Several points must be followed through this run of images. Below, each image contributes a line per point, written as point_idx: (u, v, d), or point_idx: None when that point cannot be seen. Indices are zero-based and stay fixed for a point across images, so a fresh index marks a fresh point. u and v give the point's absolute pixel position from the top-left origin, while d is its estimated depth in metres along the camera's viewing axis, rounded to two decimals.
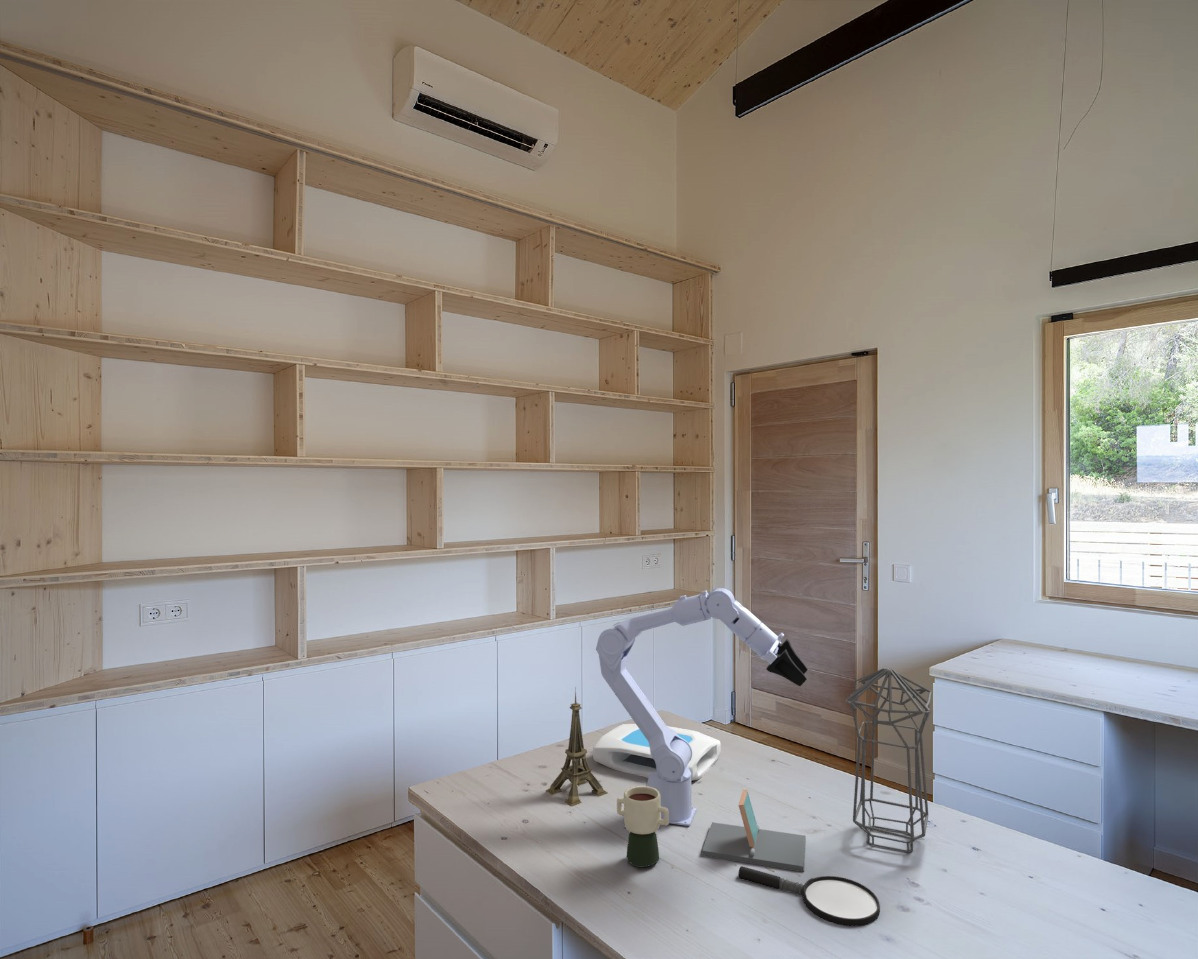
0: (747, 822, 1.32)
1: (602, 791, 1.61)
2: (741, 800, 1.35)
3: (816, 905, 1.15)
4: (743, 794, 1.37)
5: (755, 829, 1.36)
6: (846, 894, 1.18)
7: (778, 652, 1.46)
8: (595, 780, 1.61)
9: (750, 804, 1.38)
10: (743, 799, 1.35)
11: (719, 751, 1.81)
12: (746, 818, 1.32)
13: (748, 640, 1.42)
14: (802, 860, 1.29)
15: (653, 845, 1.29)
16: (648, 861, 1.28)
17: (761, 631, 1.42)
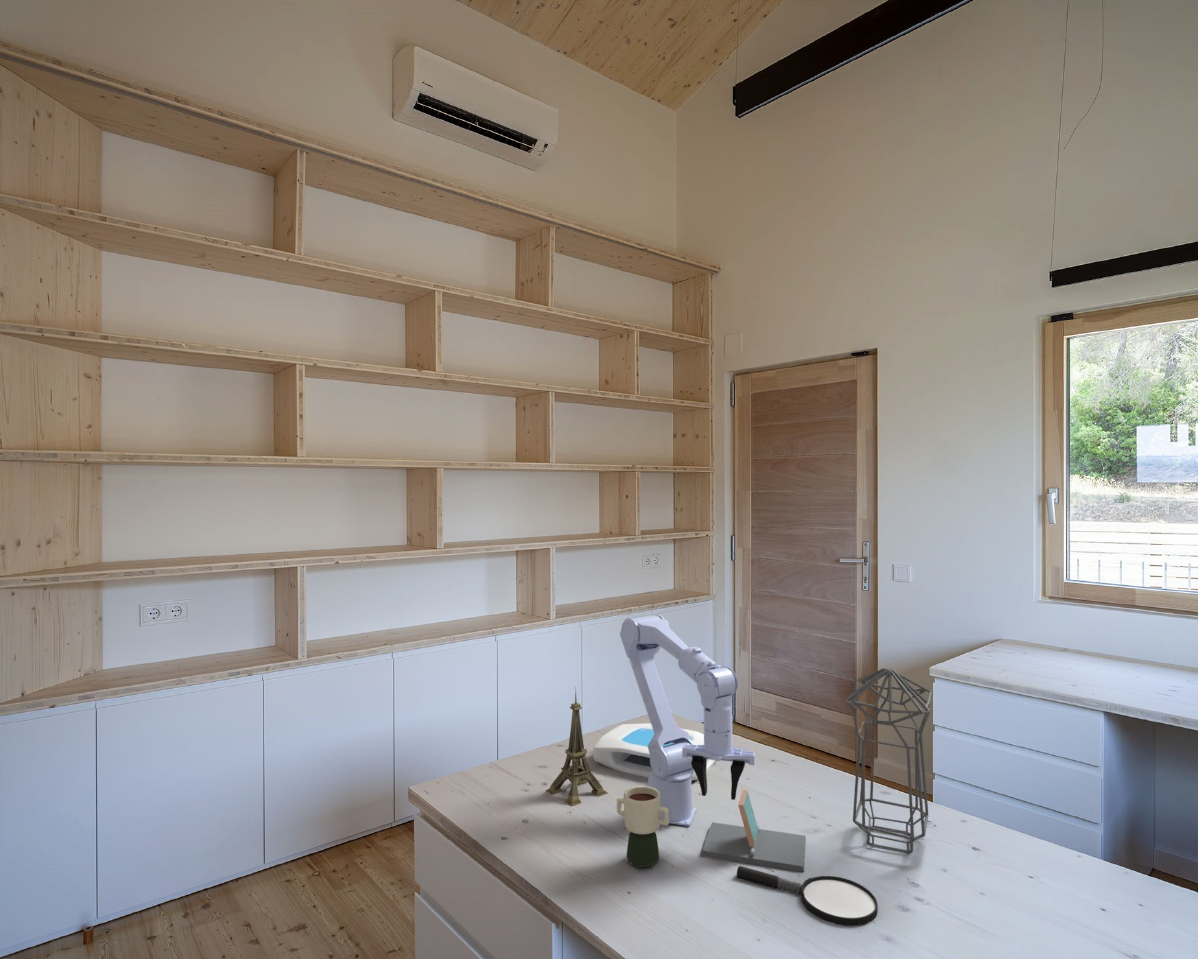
0: (747, 822, 1.32)
1: (602, 791, 1.61)
2: (741, 800, 1.35)
3: (814, 904, 1.15)
4: (743, 794, 1.37)
5: (755, 829, 1.36)
6: (844, 894, 1.18)
7: None
8: (595, 780, 1.61)
9: (750, 804, 1.38)
10: (743, 799, 1.35)
11: None
12: (746, 818, 1.32)
13: None
14: (802, 860, 1.29)
15: (653, 845, 1.29)
16: (648, 861, 1.28)
17: (705, 735, 1.37)
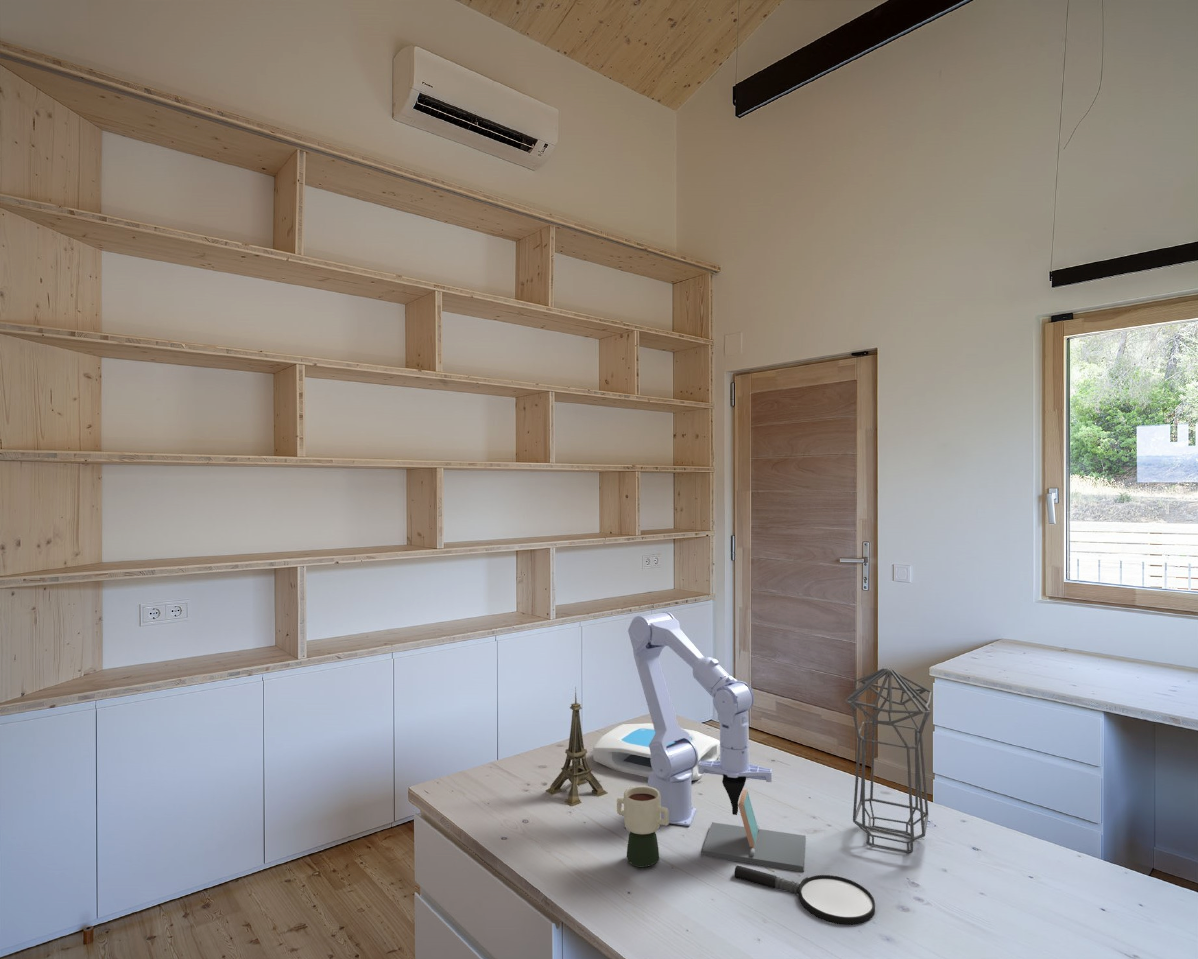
0: (747, 822, 1.32)
1: (602, 791, 1.61)
2: (741, 800, 1.35)
3: (812, 904, 1.15)
4: (743, 794, 1.37)
5: (755, 829, 1.36)
6: (842, 893, 1.18)
7: None
8: (595, 780, 1.61)
9: (750, 804, 1.38)
10: (743, 799, 1.35)
11: (719, 751, 1.81)
12: (746, 818, 1.32)
13: None
14: (802, 860, 1.29)
15: (653, 845, 1.29)
16: (648, 861, 1.28)
17: (722, 751, 1.36)
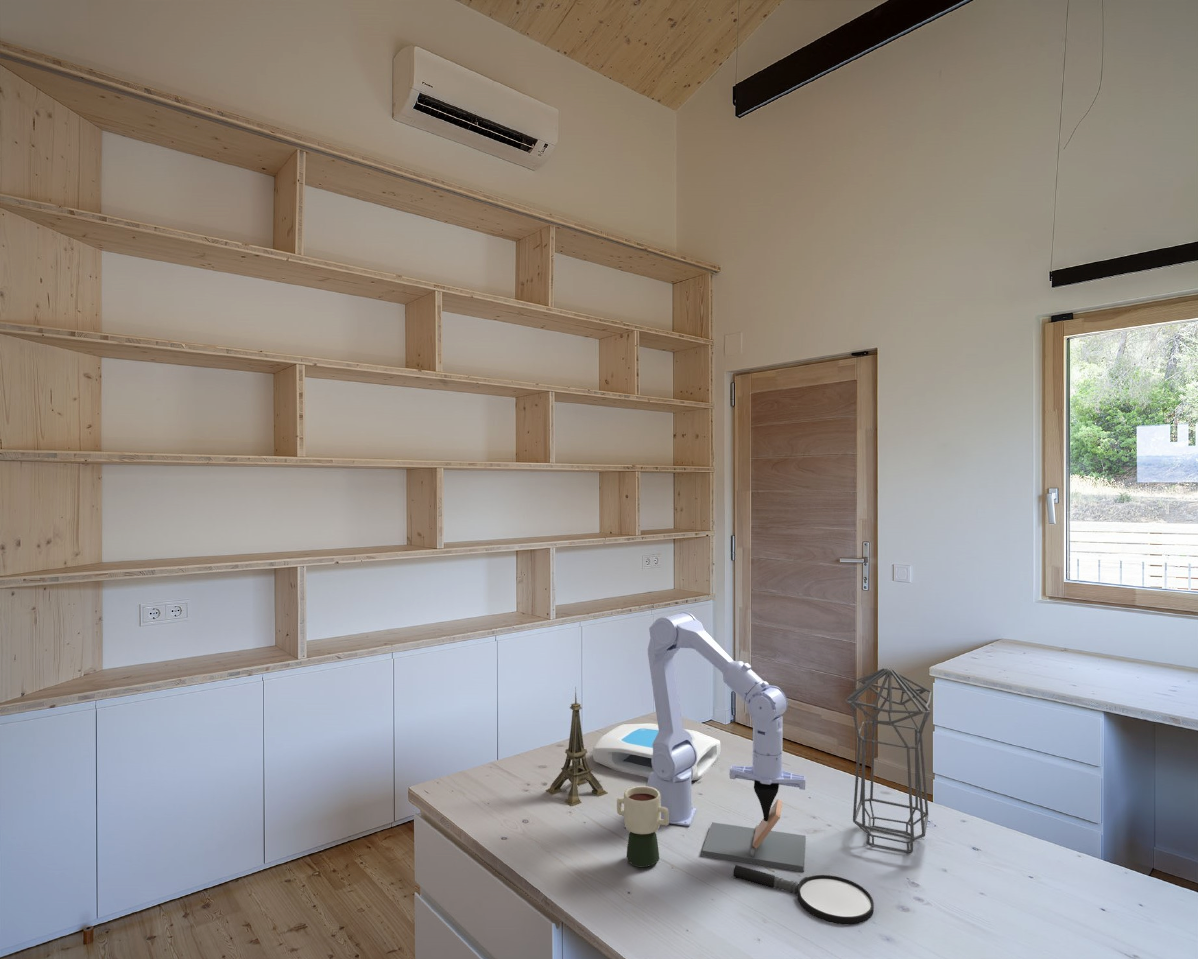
0: (769, 830, 1.31)
1: (602, 791, 1.61)
2: (777, 810, 1.33)
3: (810, 903, 1.15)
4: (779, 804, 1.35)
5: None
6: (840, 893, 1.19)
7: None
8: (595, 780, 1.61)
9: None
10: (779, 811, 1.33)
11: (719, 751, 1.81)
12: (771, 827, 1.31)
13: None
14: (802, 860, 1.29)
15: (653, 845, 1.29)
16: (648, 861, 1.28)
17: (755, 757, 1.34)
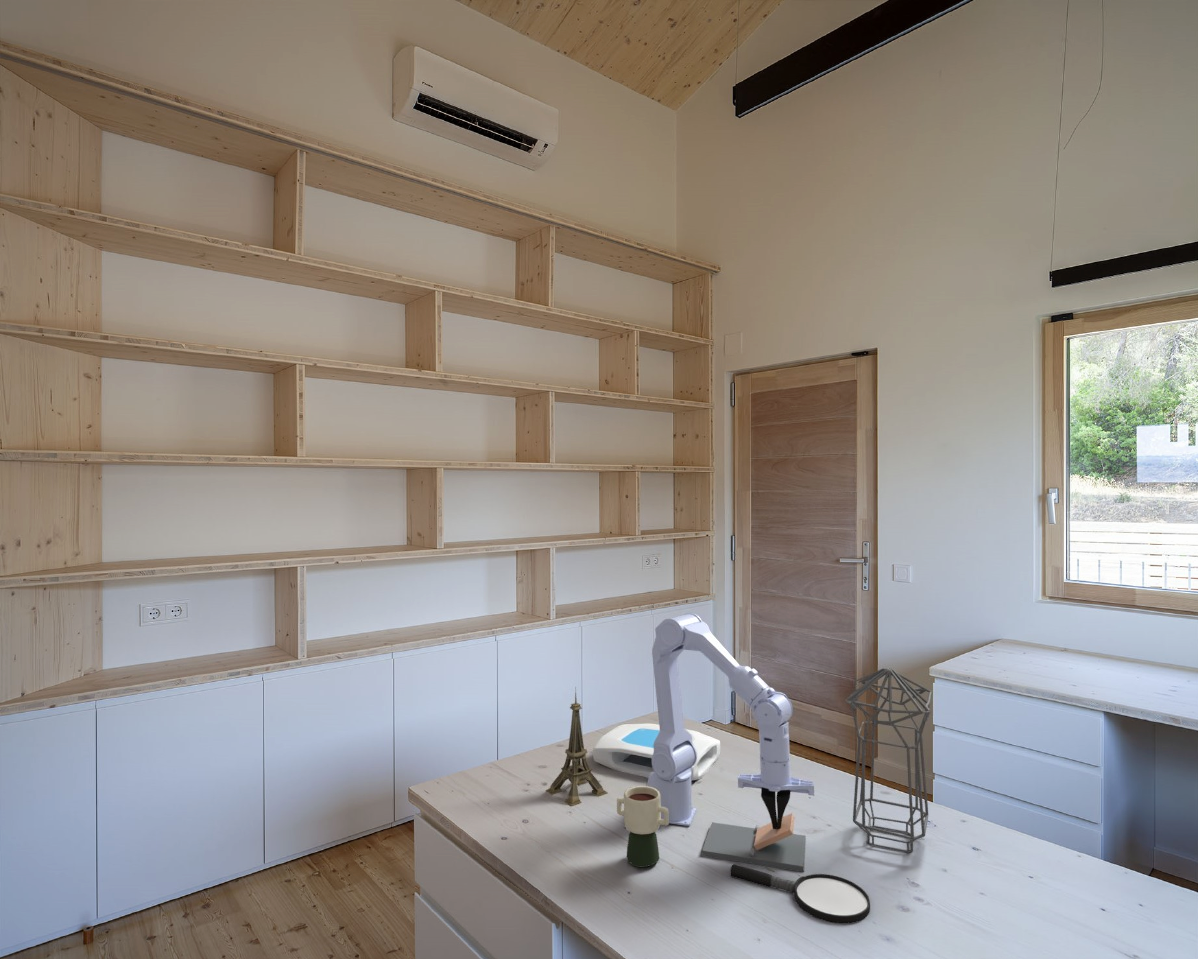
0: (776, 840, 1.31)
1: (602, 791, 1.61)
2: (791, 826, 1.32)
3: (807, 902, 1.16)
4: (792, 819, 1.34)
5: None
6: (837, 892, 1.19)
7: None
8: (595, 780, 1.61)
9: None
10: (792, 827, 1.32)
11: (719, 751, 1.81)
12: (780, 838, 1.30)
13: None
14: (802, 860, 1.29)
15: (653, 845, 1.29)
16: (648, 861, 1.28)
17: (762, 765, 1.33)
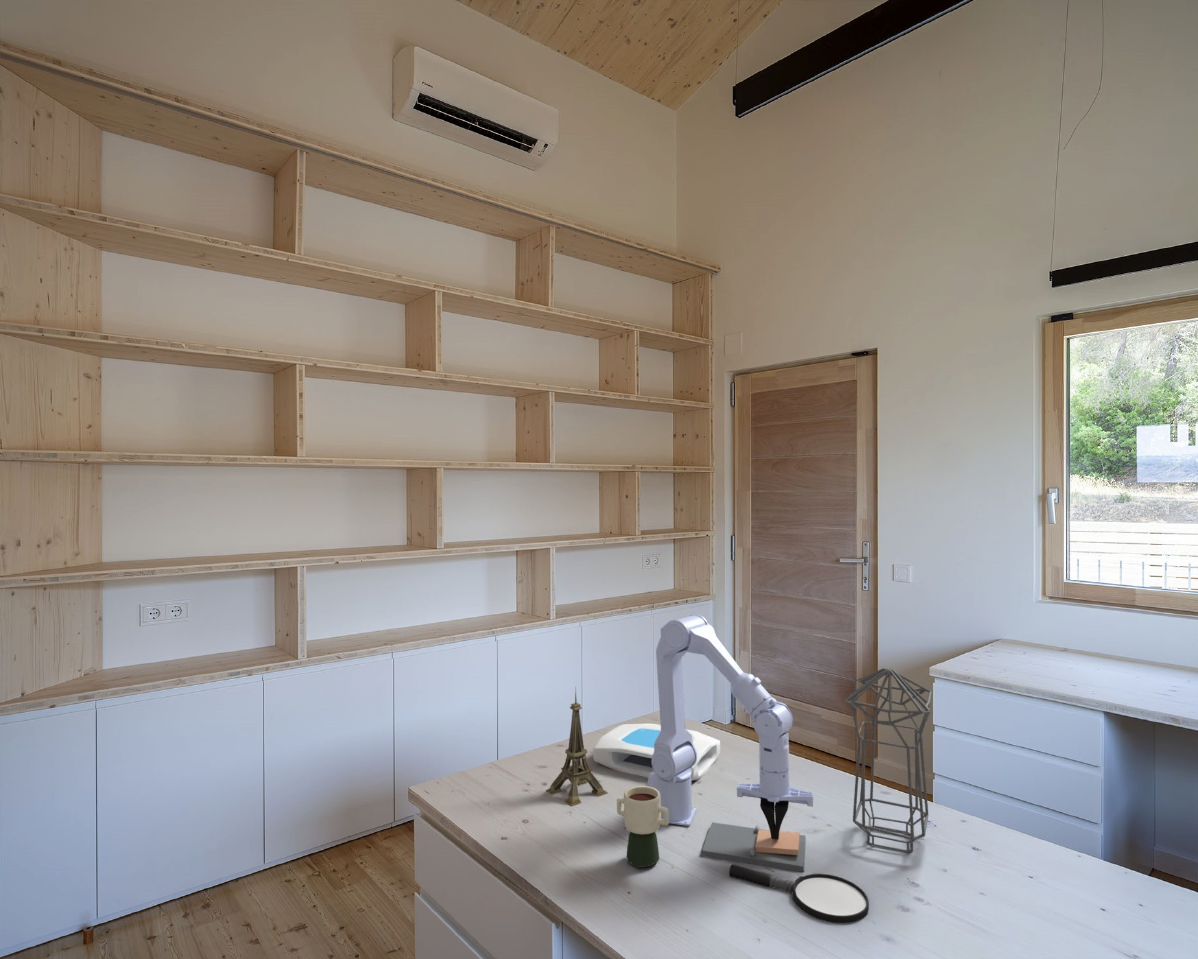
0: (779, 852, 1.30)
1: (602, 791, 1.61)
2: (798, 846, 1.31)
3: (806, 902, 1.16)
4: (799, 839, 1.34)
5: None
6: (836, 891, 1.19)
7: None
8: (595, 780, 1.61)
9: None
10: (798, 847, 1.31)
11: (719, 751, 1.81)
12: (783, 852, 1.30)
13: None
14: (802, 860, 1.29)
15: (653, 845, 1.29)
16: (648, 861, 1.28)
17: (762, 775, 1.33)
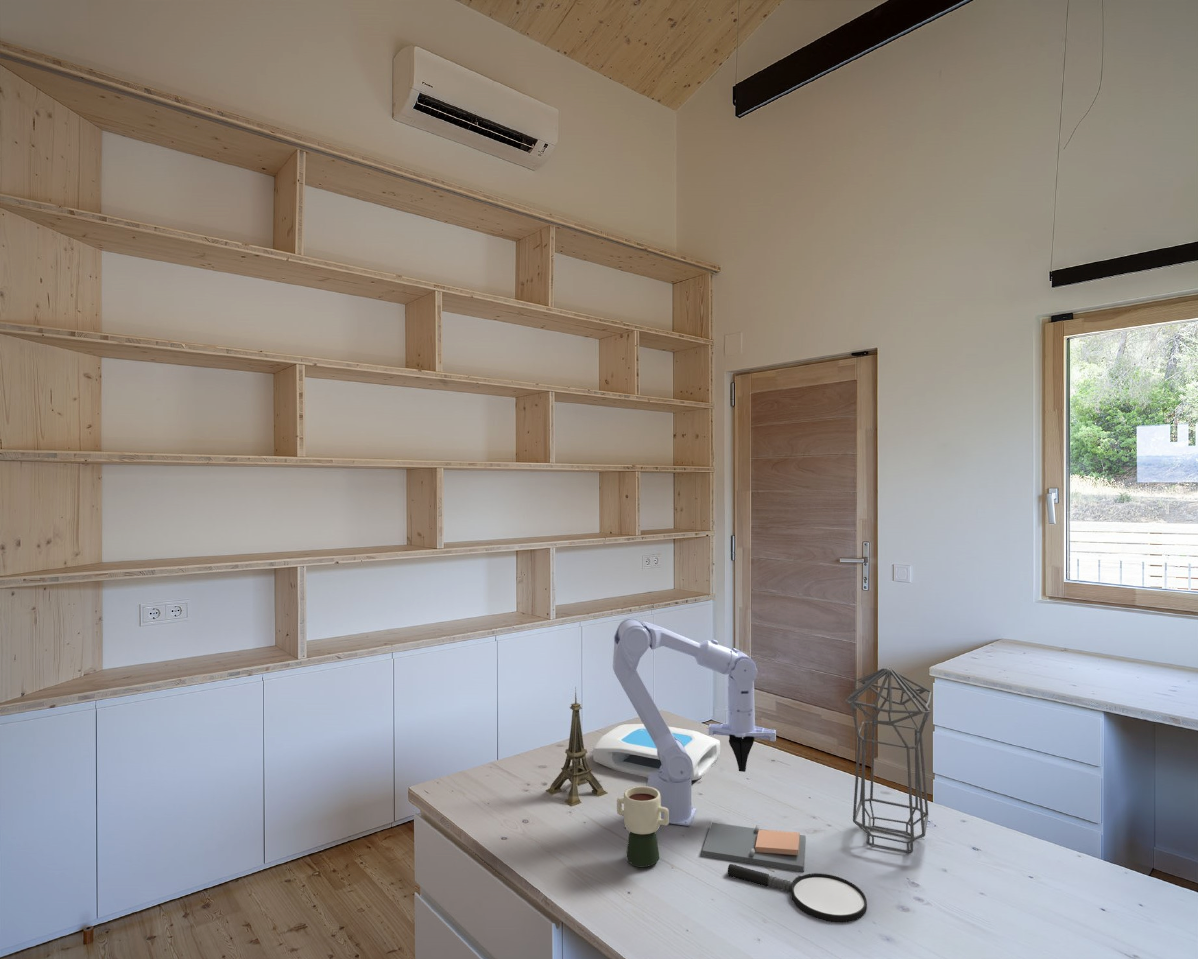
0: (779, 852, 1.30)
1: (602, 791, 1.61)
2: (798, 846, 1.31)
3: (804, 902, 1.16)
4: (799, 839, 1.34)
5: None
6: (834, 891, 1.19)
7: None
8: (595, 780, 1.61)
9: None
10: (798, 847, 1.31)
11: (719, 751, 1.81)
12: (783, 853, 1.30)
13: None
14: (802, 860, 1.29)
15: (653, 845, 1.29)
16: (648, 861, 1.28)
17: (730, 714, 1.50)
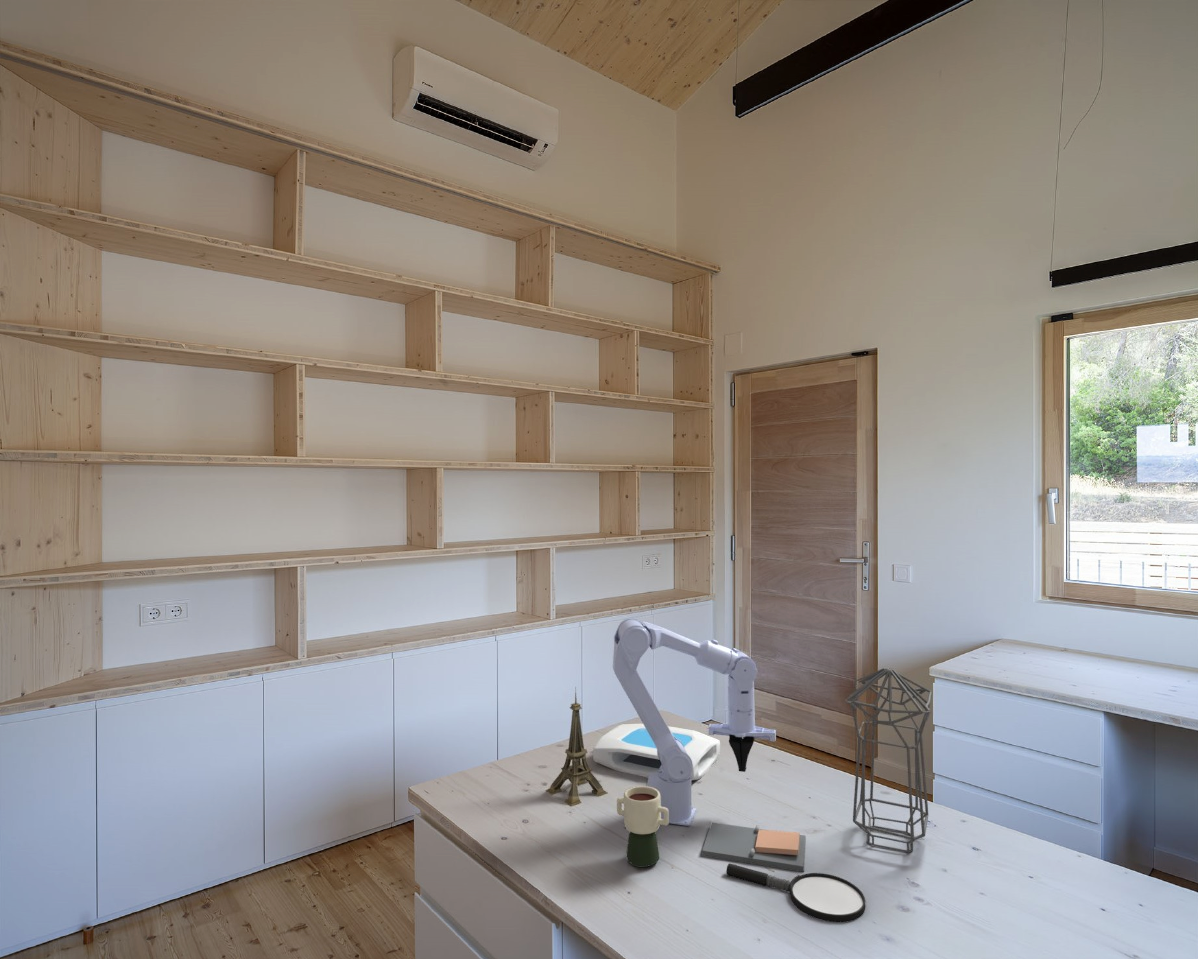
0: (779, 852, 1.30)
1: (602, 791, 1.61)
2: (798, 846, 1.31)
3: (803, 901, 1.16)
4: (799, 839, 1.34)
5: None
6: (832, 891, 1.19)
7: None
8: (595, 780, 1.61)
9: None
10: (798, 847, 1.31)
11: (718, 750, 1.81)
12: (783, 853, 1.30)
13: None
14: (802, 860, 1.29)
15: (653, 845, 1.29)
16: (648, 861, 1.28)
17: (730, 714, 1.50)
